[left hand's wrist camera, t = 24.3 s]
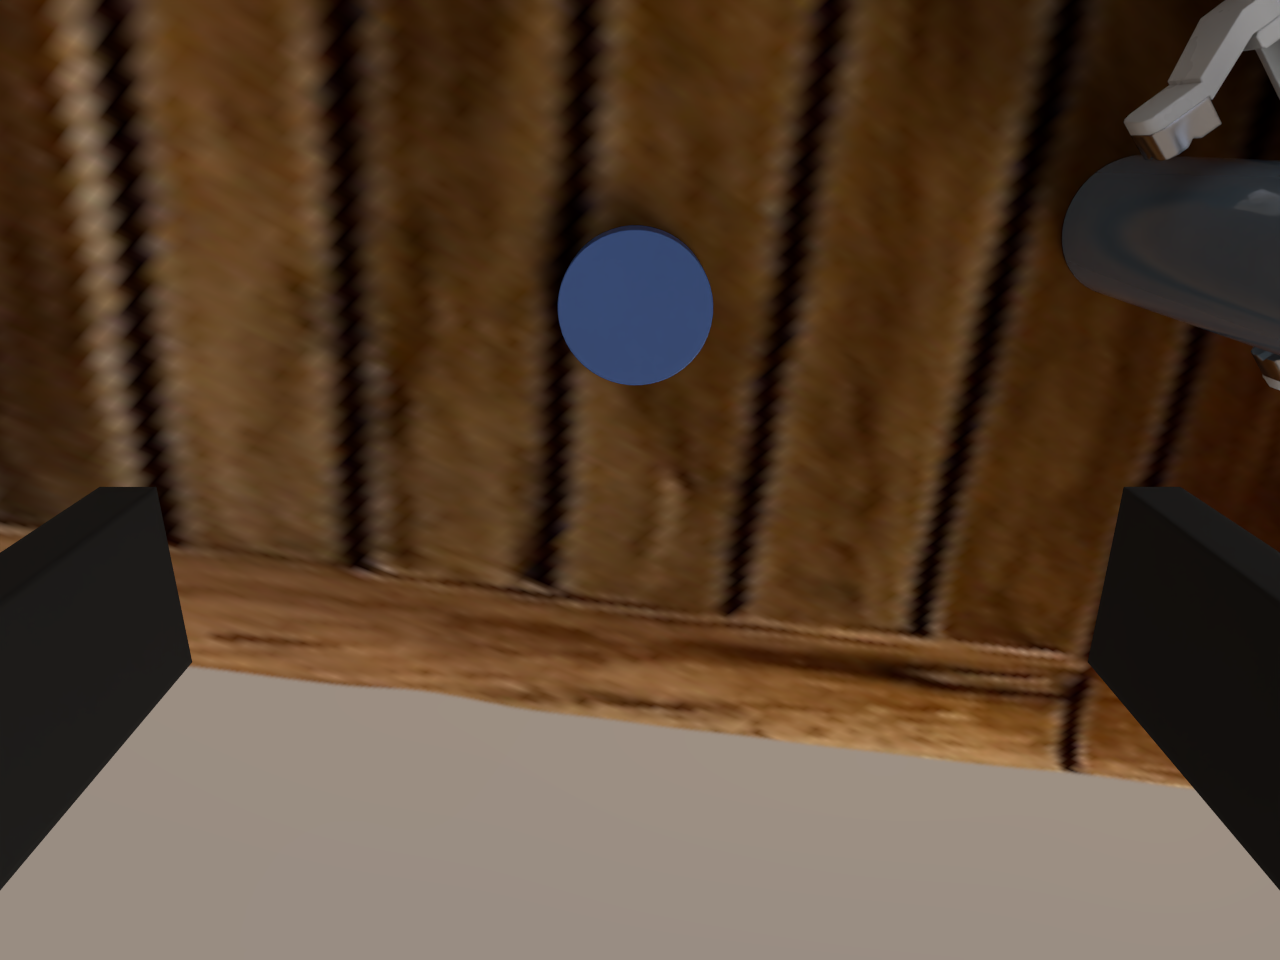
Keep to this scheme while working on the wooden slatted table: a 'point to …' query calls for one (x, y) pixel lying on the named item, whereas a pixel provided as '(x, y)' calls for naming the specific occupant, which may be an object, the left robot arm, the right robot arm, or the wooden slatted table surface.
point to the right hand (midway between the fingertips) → (1208, 263)
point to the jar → (1184, 241)
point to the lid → (635, 305)
